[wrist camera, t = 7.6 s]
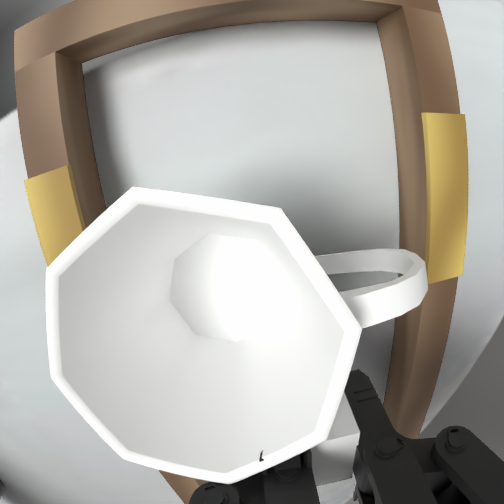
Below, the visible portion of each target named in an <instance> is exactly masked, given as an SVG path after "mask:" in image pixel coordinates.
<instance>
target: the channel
mask: <svg viewBox="0 0 504 504" xmlns="http://www.w3.org/2000/svg"><path fill="white" fill-rule="evenodd" d="M285 20H350V21H366V22H376V23H377V27H378V31H379V36H380V40H381V45H382V50H383V55H384V60H385V66H386V71H387V77H388V83H389V90H390V97H391V104H392V112H393V120H394V129H395V139H396V150H397V164H398V181H399V211H400V246H399V249H405V250H408V251H410V252H413V253H415V254H417V255H418V256H419V257H420V258H421V259H422V260H423V261H424V262H425V265H426V273H427V282H428V291H427V292H426V294H425V296H424V298H423V300H422V301H421V303H420V305H419V306H417V307H415V308H413V309H412V310H410V311H408V312H406V313H404V314H403V315H401V316H398V317H396V319H395V329H394V338H393V347H392V355H391V362H390V369H389V376H388V382H387V388H386V394H385V399H384V405H383V407H384V409H385V411H386V413H387V415H388V418H389V420H390V422H391V424H392V426H393V427H394V429H395V430H396V431H397V432H398V433H399V434H401V435H403V436H404V437H406V438H410V439H417V438H418V436H419V433H420V430H421V427H422V425H423V422H424V419H425V416H426V413H427V410H428V407H429V404H430V401H431V398H432V395H433V391H434V388H435V385H436V381H437V378H438V374H439V370H440V367H441V363H442V359H443V355H444V351H445V346H446V342H447V338H448V333H449V328H450V323H451V318H452V312H453V307H454V301H455V295H456V288H457V281H458V276H461V275H462V274H463V266H464V257H465V246H466V234H467V218H468V149H467V133H466V121H465V114H460V107H459V99H458V91H457V85H456V78H455V72H454V67H453V61H452V56H451V51H450V47H449V42H448V38H447V33H446V29H445V25H444V21H443V18H442V14H441V11H440V7H439V4H438V0H75V1H72V2H70V3H68V4H65V5H63V6H61V7H59V8H57V9H55V10H53V11H50V12H49V13H46V14H44V15H42V16H40V17H38V18H37V19H35V20H33V21H31V22H29V23H27V24H25V25H24V26H22V27H20V28H18V29H17V30H15V37H14V40H15V41H14V46H15V47H14V53H15V54H14V55H15V56H14V61H15V85H16V98H17V109H18V118H19V127H20V134H21V141H22V147H23V153H24V159H25V165H26V170H27V175H28V179H27V180H24V183H25V187H26V192H27V196H28V200H29V204H30V208H31V212H32V216H33V220H34V223H35V227H36V231H37V234H38V237H39V241H40V244H41V247H42V250H43V253H44V257H45V260H46V263H47V265H48V266H49V265H50V264H51V263H52V262H53V261H54V260H55V259H56V258H57V257H58V256H59V255H60V254H61V253H62V252H63V251H64V250H65V249H66V248H67V247H68V246H69V245H70V244H71V243H72V242H73V241H74V240H75V239H76V238H77V237H78V236H79V235H80V234H81V233H82V232H83V231H84V230H85V229H86V228H87V227H88V226H89V225H90V224H92V223H93V222H94V221H95V220H96V219H97V218H98V217H99V216H100V215H101V214H102V213H103V212H104V211H106V206H105V202H104V198H103V193H102V189H101V184H100V180H99V175H98V170H97V165H96V160H95V155H94V150H93V144H92V138H91V132H90V126H89V120H88V113H87V106H86V98H85V90H84V81H83V71H82V63H84V62H86V61H89V60H92V59H94V58H97V57H100V56H103V55H106V54H109V53H112V52H115V51H118V50H121V49H124V48H128V47H131V46H134V45H138V44H141V43H145V42H149V41H153V40H157V39H161V38H165V37H170V36H174V35H179V34H183V33H188V32H193V31H199V30H204V29H210V28H217V27H223V26H230V25H238V24H247V23H257V22H269V21H285ZM401 276H403V274H401V273H399V276H398V278H399V277H401ZM159 471H160V473H161V474H162V475H163V477H164V478H165V479H166V481H167V482H168V483H169V485H170V486H171V487H172V488H173V490H174V491H175V492H176V493H177V495H178V496H179V497H180V498H181V500H182V501H183V502H184V503H185V504H189V501H190V498H191V496H192V494H193V493H194V491H195V490H196V489H197V488H198V487H200V486H201V485H202V484H205V483H208V482H211V481H206V480H201V479H196V478H191V477H186V476H182V475H178V474H174V473H170V472H166V471H162V470H159Z"/></svg>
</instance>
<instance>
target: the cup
mask: <svg viewBox="0 0 504 504" xmlns="http://www.w3.org/2000/svg"><path fill="white" fill-rule="evenodd" d="M366 271H388V272H394V273H401V274H403V276H401V277H399V278H397V279H394V280H392V281H390V282H385V283H381V284H376V285H372V286H367V287H362V288H357V289H353V290H347V291H342V292H338V291H337V289H336V288H335V286H334V285H333V283H332V282H331V280H330V279H329V277H328V276H327V275H328V274H339V273H351V272H366ZM427 291H428V282H427V273H426V265H425V262H424V261H423V260H422V259H421V258H420V257H419V256H418V255H417V254H415V253H413V252H410V251H408V250H405V249H390V248H383V249H369V250H358V251H350V252H342V253H334V254H326V255H318V256H314V255H313V254H312V252H311V251H310V249H309V248H308V246H307V245H306V244H305V242H304V241H303V239H302V238H301V236H300V235H299V234H298V232H297V231H296V229H295V228H294V226H293V225H292V224H291V222H290V221H289V219H288V218H287V216H286V215H285V214H284V212H283V211H282V209H281V208H277V207H271V206H265V205H259V204H253V203H247V202H241V201H234V200H228V199H221V198H215V197H208V196H201V195H194V194H187V193H179V192H172V191H164V190H157V189H149V188H140V187H132V188H131V189H129V190H128V191H127V192H126V193H125V194H124V195H122V196H121V197H120V198H119V199H118V200H117V201H116V202H114V203H113V204H112V205H111V206H110V207H109V208H108V209H107V210H106V211H104V212H103V213H102V214H101V215H100V216H99V217H98V218H97V219H96V220H95V221H94V222H93V223H92V224H90V225H89V226H88V227H87V228H86V229H85V230H84V231H83V232H82V233H81V234H80V235H79V236H78V237H77V238H76V239H75V240H74V241H73V242H72V243H71V244H70V245H69V246H68V247H67V248H66V249H65V250H64V251H63V252H62V253H61V254H60V255H59V256H58V257H57V258H56V259H55V260H54V261H53V262H52V263H51V264H50V265H49V266H48V268H47V269H46V324H47V341H48V354H49V364H50V373H51V378H52V380H53V381H54V382H55V384H56V385H57V386H58V388H59V389H60V390H61V391H62V393H63V394H64V395H65V396H66V398H67V399H68V400H69V401H70V403H71V404H72V405H73V406H74V407H75V409H76V410H77V411H78V412H79V413H80V414H81V415H82V417H83V418H84V419H85V420H86V421H87V422H88V423H89V425H90V426H91V427H92V428H93V429H94V430H95V431H96V432H97V433H98V434H99V435H100V436H101V437H102V438H103V439H104V441H105V442H106V443H107V444H108V445H109V446H110V447H111V448H112V449H113V450H114V451H115V452H116V453H117V454H118V455H119V456H121V457H122V458H123V459H125V460H128V461H131V462H134V463H137V464H140V465H144V466H147V467H151V468H154V469H158V470H162V471H166V472H170V473H174V474H178V475H182V476H186V477H191V478H196V479H201V480H206V481H211V482H217V483H223V484H231V483H234V482H236V481H239V480H242V479H244V478H247V477H249V476H252V475H254V474H256V473H259V472H261V471H263V470H266V469H268V468H270V467H273V466H275V465H277V464H279V463H281V462H284V461H286V460H288V459H290V458H292V457H294V456H296V455H298V454H300V453H302V452H304V451H306V450H308V449H310V448H312V447H314V446H316V445H318V444H320V443H321V442H323V441H325V440H327V437H328V435H329V432H330V429H331V427H332V424H333V421H334V418H335V416H336V413H337V410H338V407H339V404H340V401H341V398H342V395H343V392H344V389H345V386H346V383H347V380H348V377H349V373H350V370H351V367H352V364H353V360H354V357H355V353H356V350H357V346H358V343H359V339H360V335H361V332H362V328H366V327H369V326H372V325H375V324H378V323H381V322H384V321H387V320H390V319H392V318H395V317H398V316H401V315H403V314H404V313H406V312H408V311H410V310H412V309H413V308H415V307H417V306H419V305H420V303H421V301H422V300H423V298H424V296H425V294H426V292H427ZM262 450H263V453H262V459H264V461H261V462H259V459H260V453H261V452H262Z"/></svg>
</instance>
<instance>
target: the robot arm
mask: <svg viewBox="0 0 504 504" xmlns="http://www.w3.org/2000/svg"><path fill="white" fill-rule="evenodd" d="M262 453H263V450H262V452H261V453H260V459H259V462H261V461H264V459H262ZM353 472H354V475H355V479H356V482H357V483H356V487H355V491H354V495H353V498H354V501H355V500H357V498H358V501H359V504H504V462H503V461H502V460H501V459H500V458H499V457H498V456H497V455H496V454H495V453H494V452H493V451H491V450H490V449H489V448H488V447H487V446H486V445H485V444H484V443H483V442H481V440H480V439H478V438H477V437H476V436H475V435H474V434H473V433H472V432H471V431H469V430H468V429H466V428H465V427H461V426H450V427H447V428H445V429H443V430H442V431H441V432H440V433H439V434H438V435H437V437H436V438H426V439H410V438H406V437H404V436H403V435H401V434H399V433H398V432H397V431H396V430H395V429H394V427H393V426H392V424H391V422H390V420H389V418H388V415H387V413H386V411H385V409H384V407H383V405H382V403H381V401H380V399H379V398H378V395H377V393H376V391H375V389H374V387H373V385H372V383H371V381H370V379H369V377H367V376H366V375H365V374H364V373H362V372H361V371H360V370H354V371H350V373H349V377H348V380H347V383H346V386H345V389H344V392H343V395H342V398H341V401H340V404H339V407H338V410H337V413H336V416H335V418H334V421H333V424H332V427H331V429H330V432H329V435H328V437H327V440H325V441H323V442H321V443H320V444H318V445H316V446H314V447H312V448H310V449H308V450H306V451H304V452H302V453H300V454H298V455H296V456H294V457H292V458H290V459H288V460H286V461H284V462H281V463H279V464H277V465H275V466H273V467H270V468H268V469H266V470H263V471H261V472H259V473H256V474H254V475H252V476H250V477H248V478H246V479H244V480H241V481H238V482H236V483H233V484H223V483H217V482H208V483H205V484H202V485H201V486H200V487H198V488H197V489H196V490H195V491H194V493H193V494H192V496H191V498H190V501H189V504H320V502H319V497H318V493H317V488H316V486H319V485H324V484H328V483H333V482H337V481H341V480H345V479H349V478H352V475H353ZM3 491H4V486H3V484H2V483H1V481H0V499H1V496H2V494H3Z"/></svg>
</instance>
